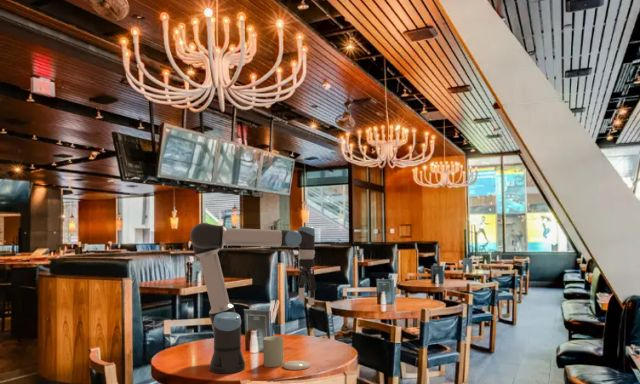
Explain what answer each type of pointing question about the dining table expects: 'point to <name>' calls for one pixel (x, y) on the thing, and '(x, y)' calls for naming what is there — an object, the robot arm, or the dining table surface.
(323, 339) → the dining table surface
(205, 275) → the robot arm
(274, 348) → the can
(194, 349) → the dining table surface
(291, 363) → the disc
